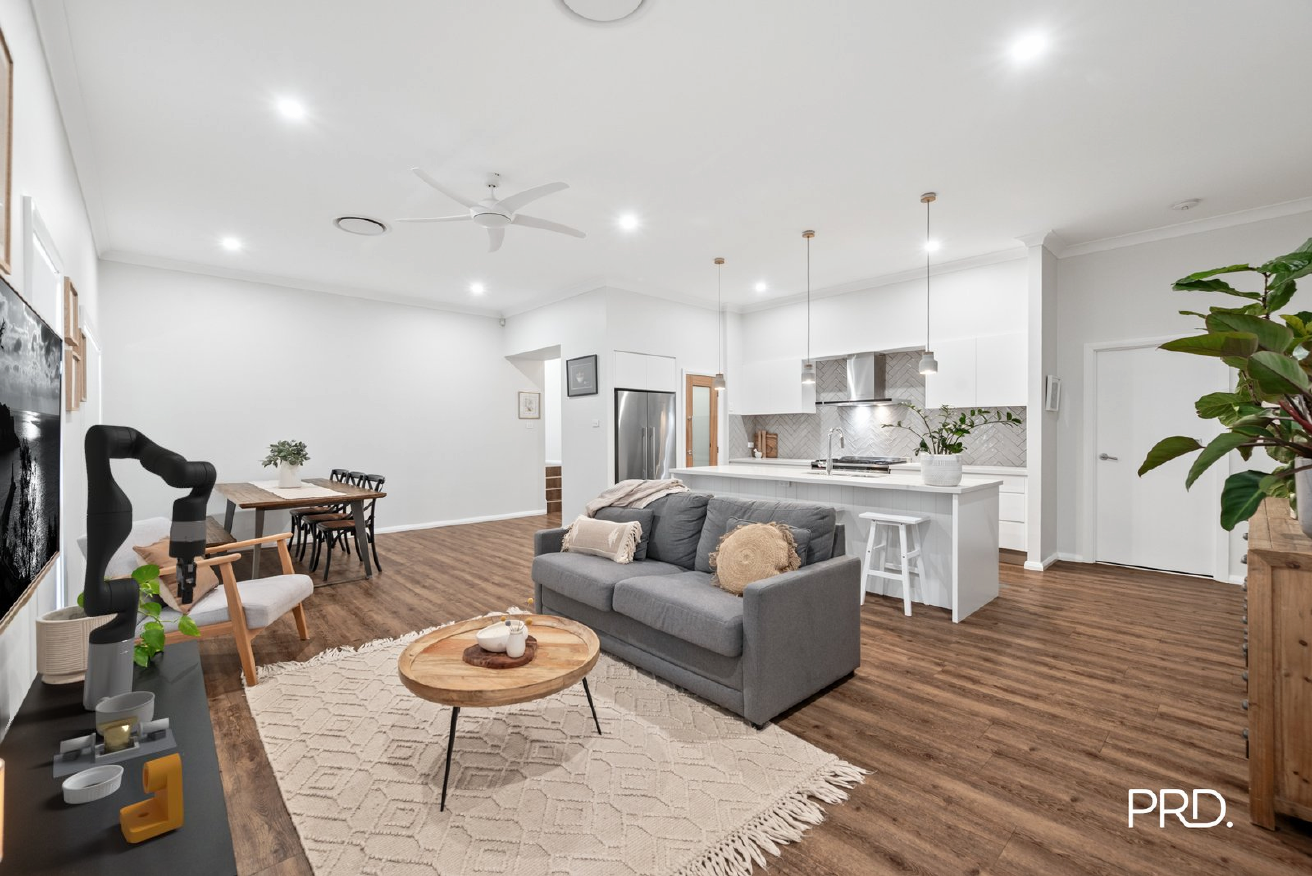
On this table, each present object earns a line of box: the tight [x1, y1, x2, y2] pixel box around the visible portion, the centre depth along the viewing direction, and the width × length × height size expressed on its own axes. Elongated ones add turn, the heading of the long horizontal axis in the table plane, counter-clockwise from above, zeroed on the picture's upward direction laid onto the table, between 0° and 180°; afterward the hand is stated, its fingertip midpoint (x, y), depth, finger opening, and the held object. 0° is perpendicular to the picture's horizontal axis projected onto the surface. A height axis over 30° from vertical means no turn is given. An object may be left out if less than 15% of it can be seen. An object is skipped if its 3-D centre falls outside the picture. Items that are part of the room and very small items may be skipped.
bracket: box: [119, 752, 185, 844], centre depth 110 cm, size 11×7×12 cm, turn 51°
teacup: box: [94, 690, 156, 737], centre depth 145 cm, size 14×11×8 cm
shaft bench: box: [52, 717, 178, 779], centre depth 133 cm, size 20×12×6 cm, turn 135°
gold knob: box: [99, 715, 137, 755], centre depth 134 cm, size 6×4×7 cm
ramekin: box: [61, 764, 124, 805], centre depth 118 cm, size 9×9×4 cm
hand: (184, 600), depth 154 cm, fingers open, 8 cm apart
